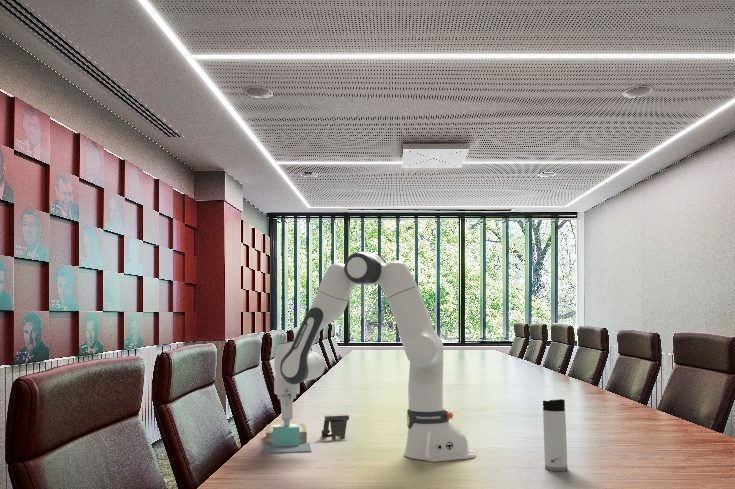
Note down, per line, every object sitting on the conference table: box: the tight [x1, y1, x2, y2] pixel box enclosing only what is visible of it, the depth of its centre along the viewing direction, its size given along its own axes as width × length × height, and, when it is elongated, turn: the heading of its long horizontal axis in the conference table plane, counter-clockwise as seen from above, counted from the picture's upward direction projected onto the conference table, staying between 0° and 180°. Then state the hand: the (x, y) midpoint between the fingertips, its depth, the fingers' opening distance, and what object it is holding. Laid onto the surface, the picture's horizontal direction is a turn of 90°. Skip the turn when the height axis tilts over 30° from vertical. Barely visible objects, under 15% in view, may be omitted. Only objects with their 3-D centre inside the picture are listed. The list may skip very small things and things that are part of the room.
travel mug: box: [542, 398, 569, 472], centre depth 179 cm, size 6×7×20 cm
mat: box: [261, 442, 312, 454], centre depth 207 cm, size 16×13×1 cm
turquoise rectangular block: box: [273, 426, 300, 446], centre depth 210 cm, size 9×6×2 cm
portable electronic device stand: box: [321, 413, 350, 441], centre depth 225 cm, size 9×8×8 cm
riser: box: [265, 423, 308, 444], centre depth 221 cm, size 14×16×4 cm
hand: (286, 429), depth 213 cm, fingers closed
